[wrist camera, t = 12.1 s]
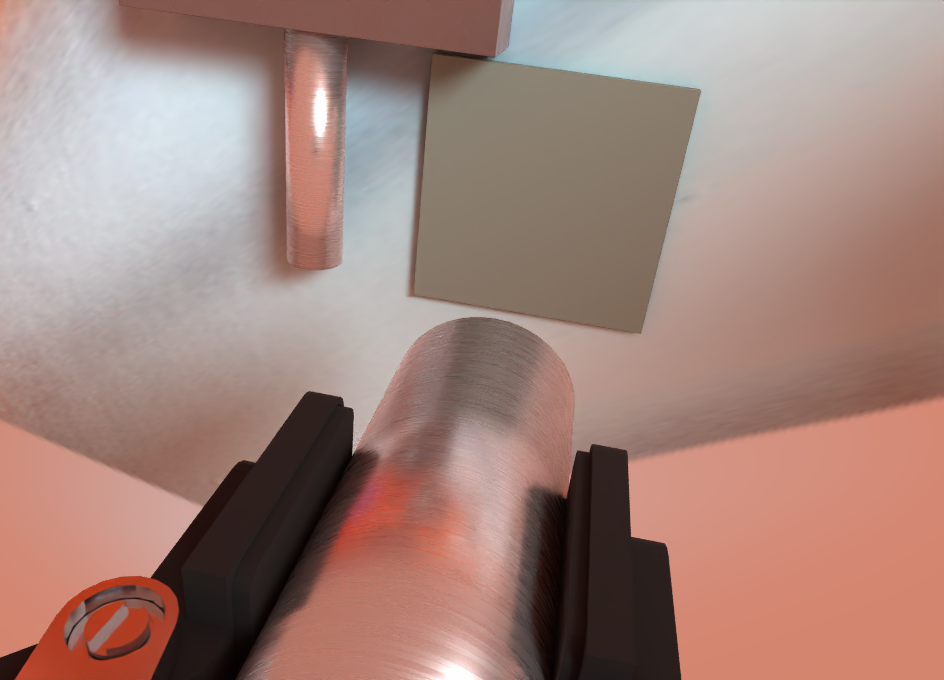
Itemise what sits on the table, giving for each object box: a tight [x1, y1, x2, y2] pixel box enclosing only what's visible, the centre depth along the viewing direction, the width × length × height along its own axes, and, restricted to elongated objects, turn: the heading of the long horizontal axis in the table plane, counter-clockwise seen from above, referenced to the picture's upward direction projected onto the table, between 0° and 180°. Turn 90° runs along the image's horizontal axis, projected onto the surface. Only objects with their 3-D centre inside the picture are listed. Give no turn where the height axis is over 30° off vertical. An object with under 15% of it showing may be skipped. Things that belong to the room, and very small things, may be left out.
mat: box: [413, 53, 701, 334], centre depth 26 cm, size 9×9×1 cm
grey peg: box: [236, 317, 574, 680], centre depth 10 cm, size 4×4×11 cm
